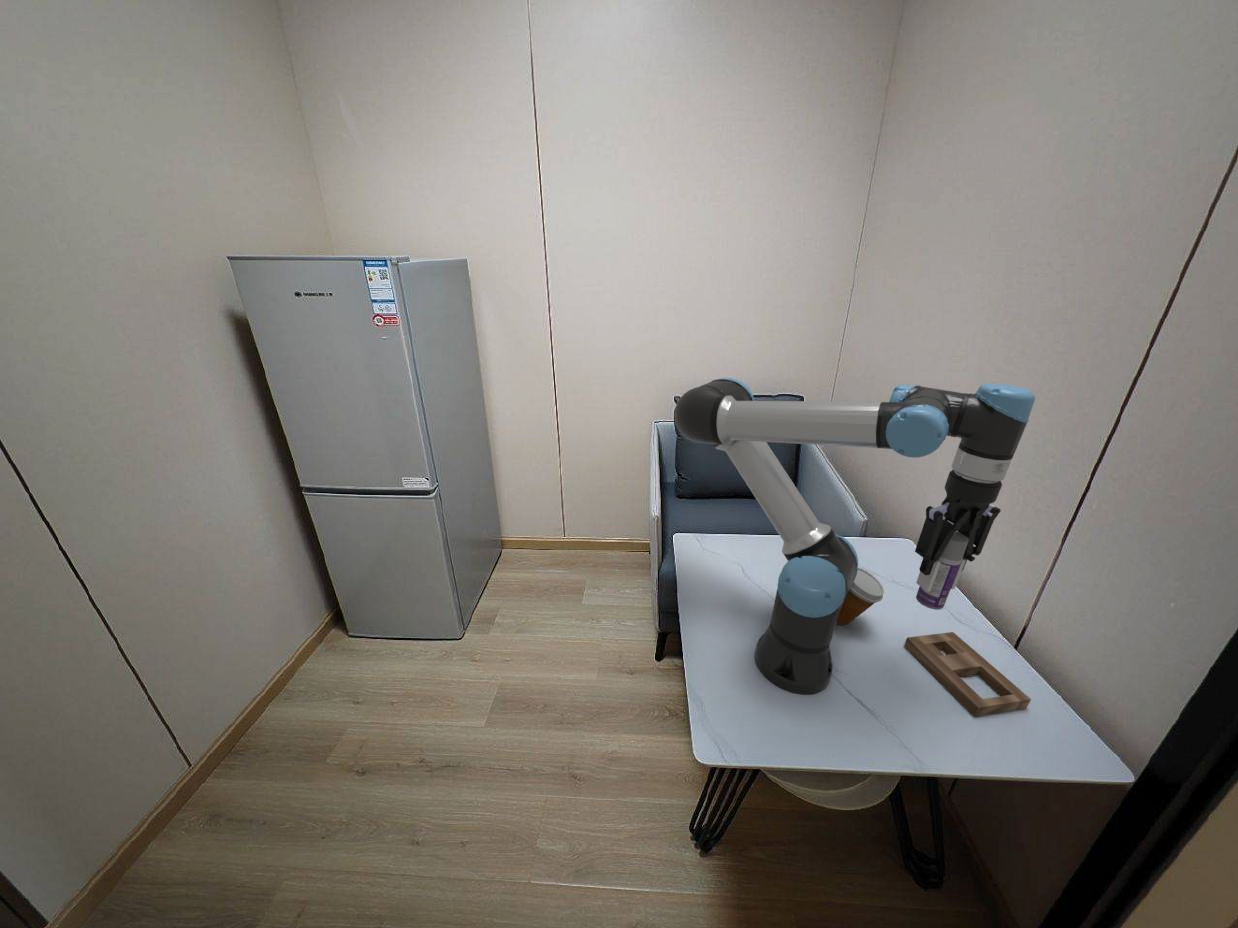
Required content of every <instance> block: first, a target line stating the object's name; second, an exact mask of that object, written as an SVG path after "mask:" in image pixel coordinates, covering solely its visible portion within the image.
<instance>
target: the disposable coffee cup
mask: <svg viewBox="0 0 1238 928" xmlns="http://www.w3.org/2000/svg"><path fill="white" fill-rule="evenodd" d="M884 593H885V589H884V587H883V585H882V583H881V582H880V580H878V578H876V576H874V575H873V574H872V573H870V572H868V571H867V570H865V569H863V568H861V567H858V571H857V575H856V578H855V580H854V582H853V583H852V585H851V587H850V589H849V592H848V594H847V596H846V598H845V600H844V603H843V605H842V607H841V610H840V612H839V615H838V618H837V621H836V624H837V625H840V626H849V624H851V623H852V622H853V621H854V620H855V619H857V618H858V617H860V615H862V614H864V612H865V611H867V610H868V609H870V608H871V607H872V606H874V604H875V603H878V602H881V601H882V600H883V597H884Z"/></svg>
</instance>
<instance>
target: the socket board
mask: <svg viewBox="0 0 1238 928" xmlns="http://www.w3.org/2000/svg"><path fill="white" fill-rule="evenodd" d="M904 642H905V643H904V644H903V647H904V648H905V649H906V650H907V651H908V652H909V653H910V655H912V657H914V658H915V659H916V660H917V661H918V662H919V663H920V664H921V666H923V667H924V668H925V669H926V670H927V671H928V672H929V674H931V675H932V676H933V677H934V678H935V679H936V680H937V681H938V682H939V684H940V685H942V687H944V688H945V690H946V691H948V693H950V695H952V696H953V697H954V699H956V701H957V702H958V703H960V705H962V707H963V708H964V709H966V710H967V712H968V713H970V715H971V716H972V717H973V718H977V717H983V716H989V715H997V714H1001V713H1007V712H1014V711H1019V710H1021V711H1022V710H1027V708H1028V706H1029V704H1030V702H1031V701H1032V698H1030V697H1029V696H1028V695H1027V694H1026V693H1025V692H1024V691H1022V690H1021V689H1020V688H1019V687H1018V686H1017V685H1015V684H1014V683H1013V682H1012V681H1011V680H1010V679H1009V678H1007V677H1006V676H1005V675H1003V673H1002V672H1000V671H999V670H998V669H997V668H996V667H994V666H993V665H992V664H991V663H990V662H988V661H987V659H985V658H984V657H983V656H981V654H979V653H978V652H977V651H976V650H975V649H973V648H972V647H971V646H970V645H969V644H968V643H967V642H966V641H964V639H962V638H961V637H960V636H958V634H956V633H955V632H954V631H950V632H949V631H948V632H944V633H943V632H942V633H935V634H934V633H933V634H925V635H924V634H923V635H917V636H911V637H909V636H908V637H906V640H905V641H904ZM974 676H977V677H978V678H979V679H980V680H982V681H983V682H984V683H985V685H987V686H988V687H990V689H992V690H993V691H994V693H996V694H997V695H998V696H994V697H988V698H982V697H981V696H980V695H979V693H978V692H976V691H975V690H974V689H973V688H972V687H971V686H970V685H969V684H967V683H966V682H965V681H964V679H962V678H966V677H974Z"/></svg>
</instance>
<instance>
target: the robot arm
mask: <svg viewBox="0 0 1238 928" xmlns="http://www.w3.org/2000/svg"><path fill="white" fill-rule="evenodd" d="M1035 400H1036V396H1035V395H1034V393H1033V391H1031V390H1030V389H1027V388H1025V387H1021V386H1018V385H1011V384H1005V383H995V382H991V383H990V382H988V383H983V384H980V385H979V387H978V389H977V390H976V391H975V393H966V392H965V393H964V392H958V391H953V390H945V389H940V388H932V387H926V386H922V385H918V384H915V385H912V384H911V385H910V384H904V383H903V384H898V385H896V386H894V388H893V390H892V393H891V395H890V398H889V401H836V400H835V401H824V400H823V401H821V400H820V401H819V400H817V401H810V400H809V401H807V400H806V401H804V400H803V401H802V400H801V401H800V400H798V401H797V400H795V401H794V400H755V398H754V395H753V392H752V391H751V389H750V388H749V387H748V385H746V384H745V383H744V382H742V381H741V380H738V379H735V378H733V377H732V378H730V377H729V378H728V377H725V378H724V377H723V378H717V379H713V380H712V381H710V382H707V383H704V384H702V385H700V386H696V387H694V388H691V389H689V390H687V391H686V392H685V393H683V394H682V396H681V397H680V398H679V399H678V401H677V403H676V405H675V408H674V422H675V423H674V424H675V425H676V426H675V427H676V428H677V430H678V431H679V433H680V434H681V435H682V436H684V438H685V439H687V440H689V441H691V442H693V443H697V444H698V443H699V444H704V445H705V444H707V445H713V447H714V448H715V449H716V450H719V451H723V452H725V453H726V454H727V456H728V457H729V459H730V461H731V463H732V465H733V466H734V467H735V468H736V470H737V471H738V474H740V476H741V478H742V479H743V481H744V482H745V483H746V486H747V487H748V488H749V490H750V492H751V493H752V495H753V497H754V498H755V499H756V501H757V502H758V504H759V505H760V507H761V509H762V510H763V512H764V513H765V515H766V516H767V518H768V520H769V521H770V523H771V524H772V525H773V527H774V529H775V530H776V532H777V534H778V535H779V536H780V538H781V539H782V541H783V543H782V544H783V545H782V549H781V552H782V554H783V556H784V557H785V559H786V560H787V562H785V564H784V566H783V567H782V569H781V572H780V573H779V575H778V579H777V580H778V581H777V589H776V594H775V598H774V603H773V607H772V612H771V613H772V614H771V617H770V618H771V619H770V622H769V626H767V628H766V630H765V632H764V633H763V634H762V635H761V636H760V637H759V639H758V641H757V643H756V647H755V652H754V660H755V663H756V666H757V667H758V669H759V671H760V672H761V674H762V675H763V676H764V677H766V679H768V680H769V681H770V682H771V683H772V684H774V685H776V686H777V687H779V688H781V689H783V690H785V691H788V692H791V693H795V694H798V695H799V694H801V695H812V694H816V693H819V692H821V691H824V690H826V688H827V687H828V686H829V684H830V681H831V679H832V676H833V675H832V674H833V660H832V654H831V647H830V645H831V641H832V639H833V634H834V631H835V627H836V624H837V623H836V621H837V618H838V615H839V612H840V610H841V607H842V605H843V603H844V600H845V598H846V596H847V594H848V592H849V589H850V587H851V585H852V583H853V582H854V580H855V578H856V575H857V571H858V568H859V557H858V553H857V551H856V549H855V547H854V546H853V544H852V543H851V542H850V541H849V540H848V539H846V538H845V537H844V536H842V535H839V534H837V533H835V532H834V530H833V528H832V527H831V526H830V525H829V524H825V523H821V522H819V520H818V518H817V517H816V516H815V514H814V512H813V511H812V509H811V508H810V507H809V505H808V504H807V501H806V500H805V499H804V498H803V496H802V494H801V493H800V491H799V490H798V488H797V487H796V486H795V483H794V482H793V481H792V479H791V478H790V476H789V475H788V473H787V472H786V470H785V468H784V467H783V465H782V464H781V462H780V461H779V459H778V458H777V456H776V455H775V453H774V451H773V450H772V449H771V447H770V446H769V444H768V443H779V444H781V443H782V444H795V445H796V444H799V445H815V446H816V445H819V446H834V447H848V448H849V447H851V448H852V447H853V448H871V449H885V450H893V451H894V452H895V453H897V454H899V455H901V456H904V457H907V458H913V459H914V458H923V457H926V456H929V455H931V454H932V453H934V452H936V451H937V450H938V449H939V448H940V447H941V446H942V444H943V443H944V441H945V440H946V438H947V436H948V437H951V438H952V437H953V438H959V439H960V442H959V444H958V447H957V449H956V452H955V455H954V458H953V461H952V463H951V469H952V470H950V471H949V473H948V476H947V479H946V481H945V484H944V490H945V492H946V497H945V498H944V500H943V501H941V505H939V506H937V507H933V506H931V505H930V506H927V507H926V509H925V520H924V523H923V526H922V528H921V529H922V530H921V533H920V535H919V538H918V540H917V544H916V546H915V548H914V549H915V550H914V552H915V553H916V554H917V555H918V556H920V557H921V558H922V560H921V562H920V566H919V573H918V577H917V579H916V582H915V584H916V585H918V586H919V587H920V586H921V587H922V588H923V589H924V590H925V591H927V592H930V591H931V589H932V586H933V583H934V580H935V578H936V575H937V572H938V570H939V567H940V564H941V562H940V561H938V559H939V557H940V556H941V554H942V552H943V551H944V549H945V547H946V546H947V544H948V542H949V541H950V539H951V537H952V536H953V534H954V532H955V531H957V532H960V533H962V534H963V535H965V536H966V537H968V539H969V541H968V544H967V547H966V550H965V553H964V555H963V558H962V561H961V564H960V567H959V569H958V572H957V574H956V577H955V579H954V582H953V584H952V587H951V590H954V589H956V587H957V585H958V582H959V579H960V576H961V574H962V572H963V571H964V570H965V569H964V568H965V567H966V563H967V561H969V562H974V561H975V560H976V557H975V556H979V555H981V553H982V550H983V548H984V545H985V543H986V541H987V539H988V536H989V533H990V532H991V529H992V526H993V524H994V521H995V519H996V518H997V517H998V515H999V514H1000V513H1001V512H1002V511H1001V508H999V507H997V506H995V505H993V504H994V503H995V502H996V501H997V499H998V497H999V494H1000V491H1001V489H1002V486H1003V483H1002V481H1003V480H1005V478H1006V476H1007V472H1008V470H1009V468H1010V465H1011V462H1012V459H1013V458H1014V455H1015V453H1016V451H1017V448H1018V446H1019V444H1020V441H1021V439H1022V436H1023V434H1024V433H1025V429H1026V427H1027V424H1028V423H1029V419H1030V416H1031V412H1032V410H1033V407H1034V403H1035ZM974 555H975V556H974Z"/></svg>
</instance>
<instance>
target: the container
mask: <svg viewBox="0 0 1238 928" xmlns="http://www.w3.org/2000/svg"><path fill="white" fill-rule="evenodd" d="M968 541H969V539H968V537H966V536H965V535H963V534H962V533H960V532H958V531H955V532H954V534H953V536H952V537H951V539H950V541H949V542H948V544H947V546H946V547H945V549H944V551H943V552H942V554H941V556H940V557H939V559H938V561H940V562H941V564H940V567H939V570H938V572H937V575H936V578H935V580H934V583H933V586H932V589H931V591H930V592H927V591H925V590H924V589H923V588H922V587H921V586H919V587H918V590H917V592H916V595H915V599H916V601H917V602H918V603H919V604H920V605H922V606H924V607H926V608H928V609H931V610H937V611H938V610H939V611H940V610H942V609H944V607H945V605H946V603H947V602H946V601H947V600H948V596H949V595H950V592H951V590H952V589H951V587H952V584H953V582H954V579H955V577H956V574H957V572H958V569H959V567H960V564H961V561H962V558H963V555H964V553H965V550H966V547H967V544H968Z"/></svg>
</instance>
